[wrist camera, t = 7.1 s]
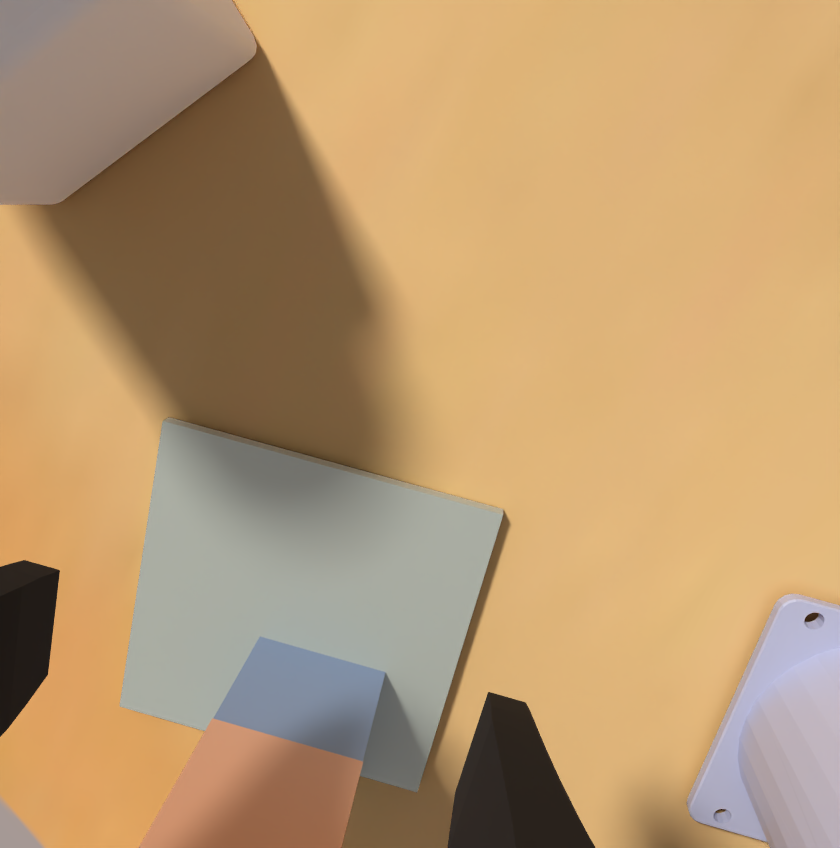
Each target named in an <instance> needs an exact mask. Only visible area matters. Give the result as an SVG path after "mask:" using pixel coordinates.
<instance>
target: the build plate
mask: <svg viewBox="0 0 840 848" xmlns="http://www.w3.org/2000/svg"><path fill="white" fill-rule="evenodd" d="M502 517H503V509H500V508H497V507H493V506H489V505H486V504H482V503H479V502H475V501H471V500H468V499H464V498H460V497H457V496H453V495H450V494H446V493H442V492H439V491H435V490H431V489H428V488H424V487H421V486H417V485H413V484H410V483H406V482H402V481H399V480H395V479H392V478H388V477H384V476H381V475H377V474H373V473H370V472H366V471H363V470H359V469H355V468H352V467H348V466H344V465H341V464H337V463H334V462H330V461H326V460H323V459H319V458H315V457H312V456H308V455H304V454H301V453H297V452H294V451H290V450H286V449H283V448H279V447H275V446H272V445H268V444H265V443H261V442H257V441H254V440H250V439H246V438H243V437H239V436H236V435H232V434H228V433H225V432H221V431H217V430H214V429H210V428H207V427H203V426H199V425H196V424H192V423H188V422H185V421H181V420H178V419H174V418H170V417H168V418H167V419H165V420H163V423H162V429H161V436H160V443H159V449H158V456H157V462H156V469H155V476H154V482H153V489H152V495H151V502H150V509H149V515H148V522H147V528H146V535H145V542H144V548H143V555H142V561H141V568H140V575H139V581H138V588H137V595H136V601H135V608H134V614H133V621H132V628H131V634H130V641H129V647H128V654H127V661H126V667H125V674H124V680H123V687H122V694H121V700H120V707H123V708H127V709H130V710H134V711H137V712H141V713H144V714H148V715H151V716H155V717H158V718H161V719H165V720H168V721H172V722H175V723H179V724H182V725H186V726H189V727H193V728H196V729H199V730H203V731H205V730H206V728H207V727H208V725H209V723H210V721H211V720H212V718H214V716H215V714H216V713H217V711H218V709H219V707H220V706H221V704H222V702H223V700H224V699H225V697H226V695H227V693H228V691H229V690H230V688H231V686H232V684H233V683H234V681H235V679H236V677H237V676H238V674H239V672H240V670H241V669H242V667H243V665H244V663H245V662H246V660H247V658H248V656H249V655H250V653H251V651H252V649H253V647H254V646H255V644H256V642H257V640H258V639H259V637H264V638H267V639H271V640H274V641H278V642H281V643H285V644H288V645H292V646H295V647H299V648H302V649H306V650H310V651H313V652H317V653H320V654H324V655H327V656H331V657H334V658H338V659H341V660H345V661H348V662H352V663H355V664H359V665H362V666H366V667H369V668H373V669H376V670H380V671H383V672H385V676H384V680H383V684H382V688H381V692H380V696H379V700H378V704H377V707H376V711H375V715H374V719H373V723H372V727H371V731H370V735H369V739H368V743H367V747H366V751H365V754H364V758H363V765H362V769H361V773H360V776H362V777H365V778H369V779H372V780H376V781H379V782H383V783H386V784H390V785H393V786H396V787H400V788H403V789H407V790H410V791H414V792H418V788H419V785H420V782H421V779H422V775H423V772H424V769H425V766H426V762H427V759H428V756H429V753H430V750H431V746H432V743H433V740H434V737H435V733H436V730H437V727H438V724H439V721H440V717H441V714H442V711H443V708H444V704H445V701H446V698H447V695H448V692H449V688H450V685H451V682H452V679H453V675H454V672H455V669H456V666H457V662H458V659H459V656H460V653H461V650H462V646H463V643H464V640H465V637H466V633H467V630H468V627H469V624H470V621H471V617H472V614H473V611H474V608H475V604H476V601H477V598H478V595H479V592H480V588H481V585H482V582H483V579H484V575H485V572H486V569H487V566H488V562H489V559H490V556H491V553H492V550H493V546H494V543H495V540H496V537H497V533H498V530H499V527H500V524H501V521H502Z"/></svg>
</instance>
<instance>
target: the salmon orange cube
mask: <svg viewBox="0 0 840 848" xmlns="http://www.w3.org/2000/svg"><path fill="white" fill-rule="evenodd" d="M362 765H363V761H360V760H356V759H353V758H349V757H346V756H342V755H339V754H335V753H332V752H328V751H325V750H321V749H318V748H314V747H311V746H307V745H304V744H300V743H297V742H293V741H290V740H286V739H283V738H279V737H276V736H273V735H269V734H266V733H262V732H259V731H255V730H252V729H248V728H245V727H241V726H238V725H234V724H231V723H227V722H224V721H220V720H217V719H213V718H212V720H211V721H210V723H209V725H208V727H207V728H206V730H205V732H204V734H203V735H202V737H201V739H200V741H199V742H198V744H197V746H196V748H195V749H194V751H193V753H192V755H191V756H190V758H189V760H188V762H187V764H186V765H185V767H184V769H183V771H182V772H181V774H180V776H179V778H178V779H177V781H176V783H175V785H174V786H173V788H172V790H171V792H170V793H169V795H168V797H167V799H166V800H165V802H164V804H163V806H162V807H161V809H160V811H159V813H158V814H157V816H156V818H155V820H154V821H153V823H152V825H151V827H150V828H149V830H148V832H147V834H146V835H145V837H144V839H143V841H142V842H141V844H140V846H139V848H341V847H342V843H343V840H344V836H345V832H346V828H347V824H348V820H349V816H350V812H351V808H352V804H353V800H354V796H355V792H356V788H357V784H358V781H359V777H360V773H361V769H362Z"/></svg>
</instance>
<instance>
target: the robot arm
mask: <svg viewBox="0 0 840 848" xmlns="http://www.w3.org/2000/svg"><path fill="white" fill-rule="evenodd" d="M59 572H60V570H57V569H54V568H50V567H47V566H43V565H40V564H36V563H32V562H29V561H25V560H23V561H20V562H16V563H12V564H8V565H5V566H2V567H0V736H1V735H2V734H3V733H4V732H5V731H6V730H7V729H8V728H9V726H10V725H11V724H12V722H13V721H14V720H15V719H16V717H17V716H18V715H19V713H20V712H21V711H22V709H23V708H24V707H25V706H26V704H27V703H28V701H29V700H30V699H31V697H32V696H33V694H34V693H35V692H36V690H37V689H38V688H39V686H40V685H41V683H42V682H43V681H44V679H45V678H46V676H47V675H48V668H49V660H50V651H51V642H52V634H53V625H54V616H55V607H56V599H57V590H58V581H59ZM811 613H819V614H818V617H817V618H816V619H815V620H813V621H811V622H805V618H806V616H807V615H808V614H811ZM687 806H688V810H689V813H690V816H691V817H692V818H693V819H694V820H695V821H697V822H699V823H702V824H706V825H709V826H713V827H716V828H720V829H723V830H727V831H730V832H734V833H737V834H741V835H744V836H748V837H751V838H755V839H758V840H762V841H765V842H768V844H769V847H770V848H840V605H836V604H832V603H829V602H825V601H821V600H818V599H814V598H811V597H807V596H803V595H800V594H788V595H784V596H783V597H781V598H780V599H778V601H777V602H776V603H775V605H774V607H773V609H772V611H771V614H770V616H769V618H768V620H767V623H766V625H765V627H764V629H763V631H762V634H761V636H760V638H759V640H758V643H757V645H756V647H755V649H754V651H753V654H752V656H751V658H750V660H749V663H748V665H747V667H746V669H745V672H744V674H743V676H742V678H741V680H740V683H739V685H738V687H737V689H736V692H735V694H734V696H733V698H732V700H731V703H730V705H729V707H728V709H727V712H726V714H725V716H724V718H723V720H722V723H721V725H720V727H719V729H718V732H717V734H716V736H715V738H714V740H713V743H712V745H711V747H710V749H709V752H708V754H707V756H706V758H705V761H704V763H703V765H702V767H701V769H700V772H699V774H698V776H697V778H696V781H695V783H694V785H693V787H692V789H691V792H690V794H689V796H688V798H687ZM719 809H726V811H725V812H722V813H715V812H716V811H717V810H719ZM448 848H595V846H594V844H593V843H592V841H591V839H590V837H589V836H588V834H587V832H586V830H585V828H584V826H583V824H582V823H581V821H580V819H579V817H578V815H577V813H576V811H575V809H574V807H573V805H572V803H571V801H570V799H569V797H568V795H567V793H566V791H565V789H564V787H563V785H562V783H561V781H560V779H559V776H558V774H557V772H556V770H555V768H554V766H553V763H552V761H551V759H550V757H549V754H548V752H547V750H546V748H545V745H544V743H543V741H542V738H541V736H540V734H539V731H538V729H537V726H536V724H535V722H534V719H533V717H532V714H531V712H530V710H529V708H528V706H527V704H526V703H525V702H522V701H518V700H515V699H511V698H508V697H504V696H501V695H497V694H494V693H490V692H488V695H487V698H486V701H485V704H484V707H483V710H482V713H481V716H480V719H479V722H478V725H477V728H476V731H475V734H474V737H473V740H472V743H471V746H470V749H469V752H468V755H467V758H466V761H465V764H464V767H463V770H462V774H461V777H460V780H459V783H458V786H457V789H456V792H455V798H454V805H453V812H452V819H451V826H450V833H449V841H448Z"/></svg>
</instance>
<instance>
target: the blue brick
mask: <svg viewBox="0 0 840 848" xmlns="http://www.w3.org/2000/svg"><path fill="white" fill-rule="evenodd" d="M384 676H385V672H383V671H380V670H376V669H373V668H369V667H366V666H362V665H359V664H355V663H352V662H348V661H345V660H341V659H338V658H334V657H331V656H327V655H324V654H320V653H317V652H313V651H310V650H306V649H302V648H299V647H295V646H292V645H288V644H285V643H281V642H278V641H274V640H271V639H267V638H264V637H259V639H258V640H257V642H256V644H255V646H254V647H253V649H252V651H251V653H250V655H249V656H248V658H247V660H246V662H245V663H244V665H243V667H242V669H241V670H240V672H239V674H238V676H237V677H236V679H235V681H234V683H233V684H232V686H231V688H230V690H229V691H228V693H227V695H226V697H225V699H224V700H223V702H222V704H221V706H220V707H219V709H218V711H217V713H216V714H215V716H214V718H213V719H217V720H220V721H224V722H227V723H231V724H234V725H238V726H241V727H245V728H248V729H252V730H255V731H259V732H262V733H266V734H269V735H273V736H276V737H279V738H283V739H286V740H290V741H293V742H297V743H300V744H304V745H307V746H311V747H314V748H318V749H321V750H325V751H328V752H332V753H335V754H339V755H342V756H346V757H349V758H353V759H356V760H360V761H363V758H364V754H365V751H366V747H367V743H368V739H369V735H370V731H371V727H372V723H373V719H374V715H375V711H376V707H377V704H378V700H379V696H380V692H381V688H382V684H383V680H384Z"/></svg>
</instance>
